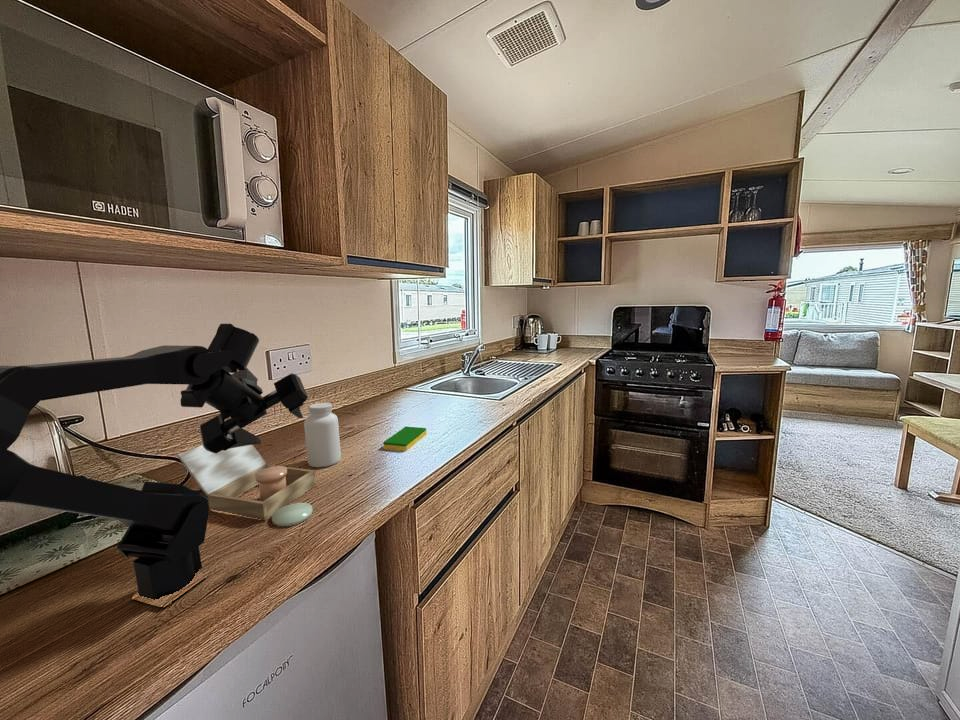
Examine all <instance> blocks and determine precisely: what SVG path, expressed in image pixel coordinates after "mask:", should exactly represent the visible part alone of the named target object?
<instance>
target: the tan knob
mask: <svg viewBox="0 0 960 720" xmlns="http://www.w3.org/2000/svg"><path fill="white" fill-rule="evenodd" d="M286 467H287V466H283V465H275V466H273V467H268V468H265V469H262V470H260V471H258V472H257V473H256V474H255V478H256V481H257V482H258V484H259V486H258V491H259V492H258V493H259V501H264V500H266V499H268V498H269V497H271V496H272V495H274V494H275V493H277V492H279V491H280V490H282V489H283V488H285V487H287V486H288V484H287V483H286V475H287V468H286Z"/></svg>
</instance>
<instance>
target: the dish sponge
mask: <svg viewBox="0 0 960 720" xmlns="http://www.w3.org/2000/svg"><path fill="white" fill-rule="evenodd" d="M427 434H428V433H427V428H426V427H420V426H418V427H416V426H404V427H403V428H401V429H399V430H398V431H397V432H395V433H394V434H393V435H391V436H390V437H388V438H387V439H386V440H384V441H383V442H382V443H383V450H391V451H399V452H407V451H409V450H410V449H411V448H412V447H413V446H415V445H416V444H417V443H418V442H419V441H421V440H422V439H423V438H424V437H425V436H427Z"/></svg>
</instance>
